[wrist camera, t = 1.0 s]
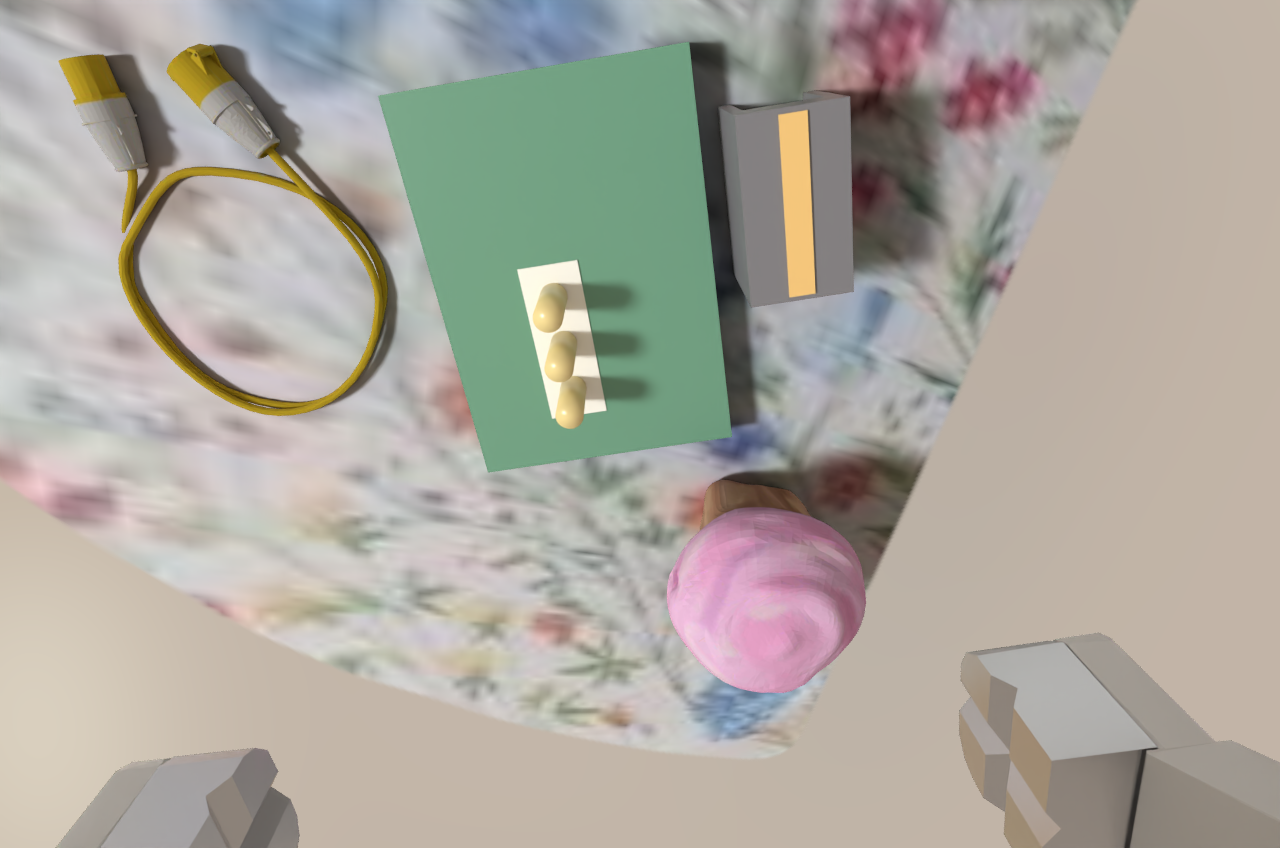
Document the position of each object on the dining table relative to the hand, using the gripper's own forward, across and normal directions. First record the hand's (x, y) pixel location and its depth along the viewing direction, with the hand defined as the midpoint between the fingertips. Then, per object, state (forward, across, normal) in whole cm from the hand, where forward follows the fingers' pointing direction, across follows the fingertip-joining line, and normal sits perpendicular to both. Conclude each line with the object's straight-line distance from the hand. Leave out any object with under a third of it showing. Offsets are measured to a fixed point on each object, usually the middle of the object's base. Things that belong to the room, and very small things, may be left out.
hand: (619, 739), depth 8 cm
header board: (+26, +2, -1) cm, 26 cm away
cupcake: (+28, -5, +13) cm, 31 cm away
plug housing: (+26, -7, -4) cm, 27 cm away
